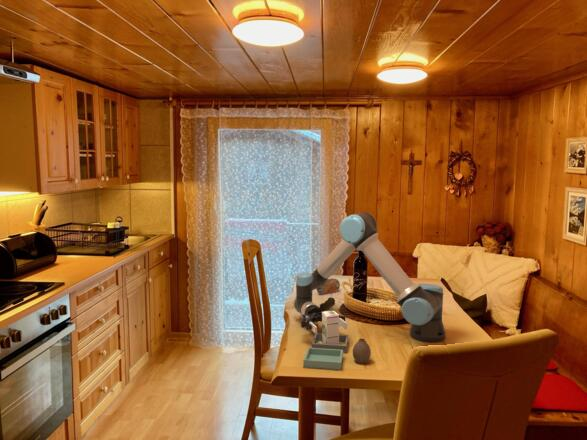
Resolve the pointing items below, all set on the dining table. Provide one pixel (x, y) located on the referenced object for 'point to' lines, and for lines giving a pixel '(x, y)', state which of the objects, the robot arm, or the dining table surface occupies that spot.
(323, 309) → the hand tool
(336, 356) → the bin
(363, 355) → the vase
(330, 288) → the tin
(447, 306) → the dining table surface
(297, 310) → the robot arm
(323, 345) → the bin
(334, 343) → the syrup box
